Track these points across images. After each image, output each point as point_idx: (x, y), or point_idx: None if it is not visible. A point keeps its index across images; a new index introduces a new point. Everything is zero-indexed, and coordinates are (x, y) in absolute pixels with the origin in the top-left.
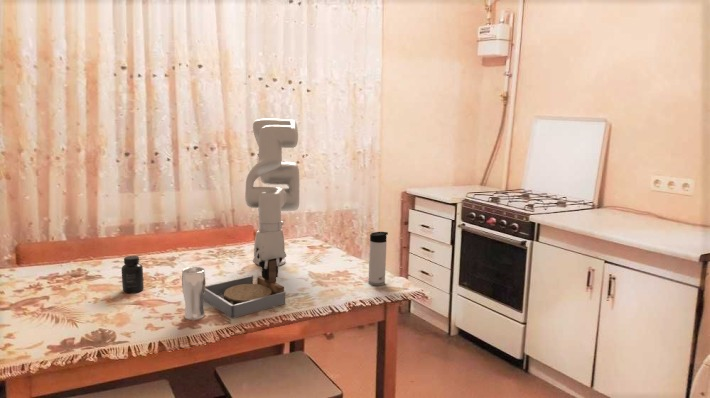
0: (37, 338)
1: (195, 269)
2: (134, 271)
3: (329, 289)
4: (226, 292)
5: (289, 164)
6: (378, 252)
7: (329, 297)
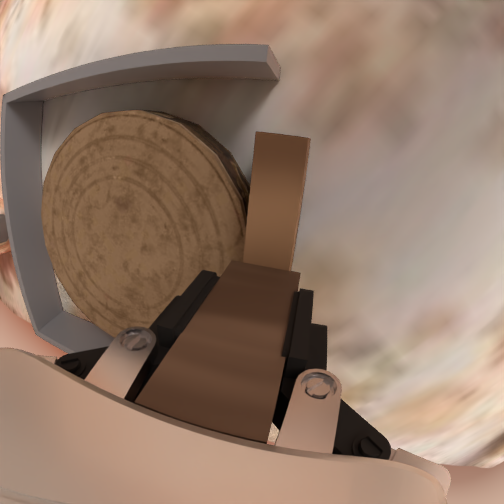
0: None
1: None
2: None
3: (468, 389)
4: (51, 181)
5: None
6: None
7: (396, 429)
